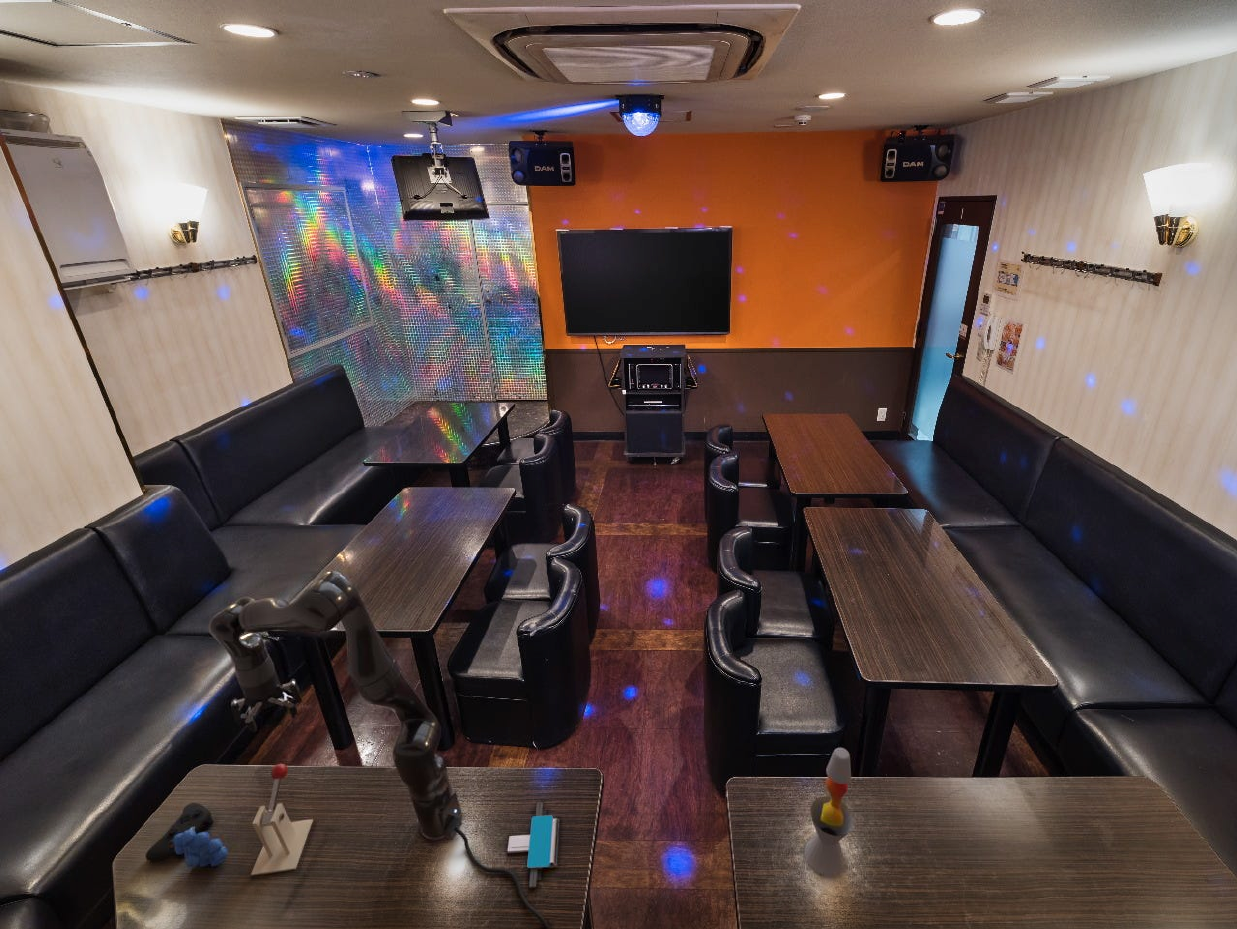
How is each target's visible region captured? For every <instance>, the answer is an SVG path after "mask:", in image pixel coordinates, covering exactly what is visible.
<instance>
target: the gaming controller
mask: <svg viewBox="0 0 1237 929" xmlns="http://www.w3.org/2000/svg"><path fill="white" fill-rule="evenodd" d="M213 824H214V820H213V818H212V813H211V811H210V810H209V809H208V808H207V807H205V806H204V805H202V804H201V803H197V802H190V803H189V804H187V805H185V806H184V808H183V809H182V813H181V814H180V815H179V817H178V818H177V820H175V822H174V823H173V824H172V826H170V828H169V829H168V830H167V832H166V833H165V834H164V835H163V836H162V837H161V838H159V839H158V840H157V841H156V842H155V843H154V844H153V845H152V846H150V848H149V849H147V851H146V853H145V859H146V860H147V861H148V862H157V861H161V860H165V859H169V858H182V857H185V855H184V854H178V855H177V853H176V852H175V845H174V843H173V838H174V836H175V835H177V834H180V833H183V832H184V831H186V830H192V829H194V831H195V832H196V835H197V834H198V833H200V831H201V830H202V829H203V828H204V826H205V827H208V826H211V825H213Z"/></svg>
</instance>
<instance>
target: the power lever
mask: <svg viewBox="0 0 1237 929" xmlns="http://www.w3.org/2000/svg"><path fill="white" fill-rule="evenodd" d="M288 773H289V767H288V765H286V763H277V764H275V765H274V766H273V767H272V769H271V771H270V775H271V778H272V779H273V786H272V789H271V790H272V791H271V795H270V800H269V804H268V807H267V808H268V809H267V811H264V814H263V818H262V823H261V825H263V826H272V824H271V822H270V821H271V818H272V816H273V814H274V811H275V809H276V807H277V800H278V796H279V792H280V786H281V782H282V780H283V779H284V778H285V777H286V776H287V775H288Z"/></svg>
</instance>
